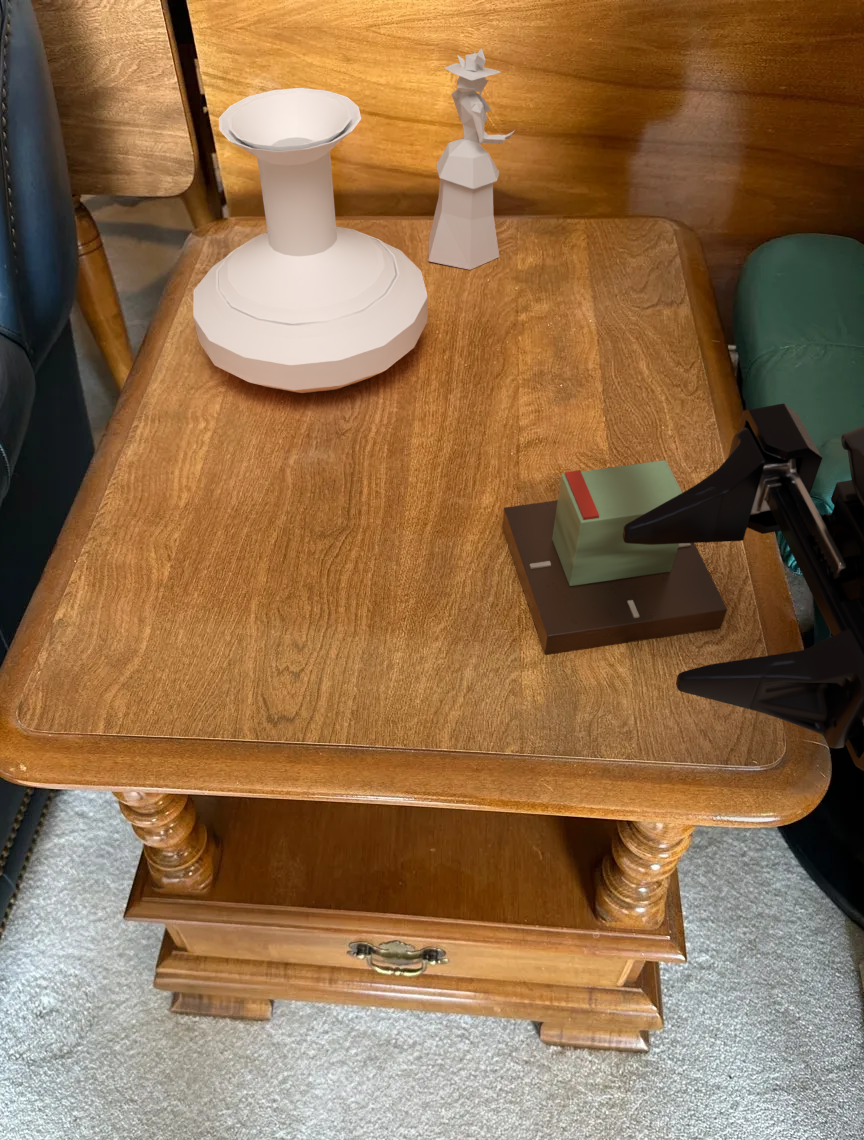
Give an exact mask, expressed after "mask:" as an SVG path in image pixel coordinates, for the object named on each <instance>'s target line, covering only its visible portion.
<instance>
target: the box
mask: <svg viewBox="0 0 864 1140" xmlns="http://www.w3.org/2000/svg"><path fill="white" fill-rule="evenodd" d="M558 488H559V489H558V496H557V500H558V502H557V509H556V516H555V523H554V529H553V536H552V540H553V543H554V545H555V548H556V551H557V553H558V556H559V559H560V561H561V564H562V567H563V569H564V572H565V575H566V577H567V580H568V583H569V585H570V586H575V585H582V584H589V583H596V582H603V581H609V580H616V579H623V578H630V577H637V576H644V575H651V574H658V573H665V572H670V571H671V569H672V566H673V563H674V559H675V556H676V553H677V549H678V546H679V544H659V545H645V544H629V543H625V542H624V540H623V537H622V536H623V528H624V526H625V525H626V524H627V523H629V522H631V521H633V520H634V519H636V518H638V517H640V516H642V515H643V514H645V513H647V512H649V511H651V510H652V509H654V508H656V507H658V506H660V505H661V504H663V503H665V502H667V501H669V500H670V499H672V498H674V497H676V496H678V495H679V494H681V493H683V492H684V491H682V489H681V487H680V485H679V483H678V481H677V479H676V477H675V474H674V473H673V471H672V469H671V467H670V466H669V464H668V462H667V460H666V459H663V460H655V461H648V462H639V463H634V464H626V465H619V466H611V467H604V468H598V469H590V470H589V469H588V470H580V469H578V470H570V471H565V472H564V473H561V475H560V482H559V487H558Z"/></svg>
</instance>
